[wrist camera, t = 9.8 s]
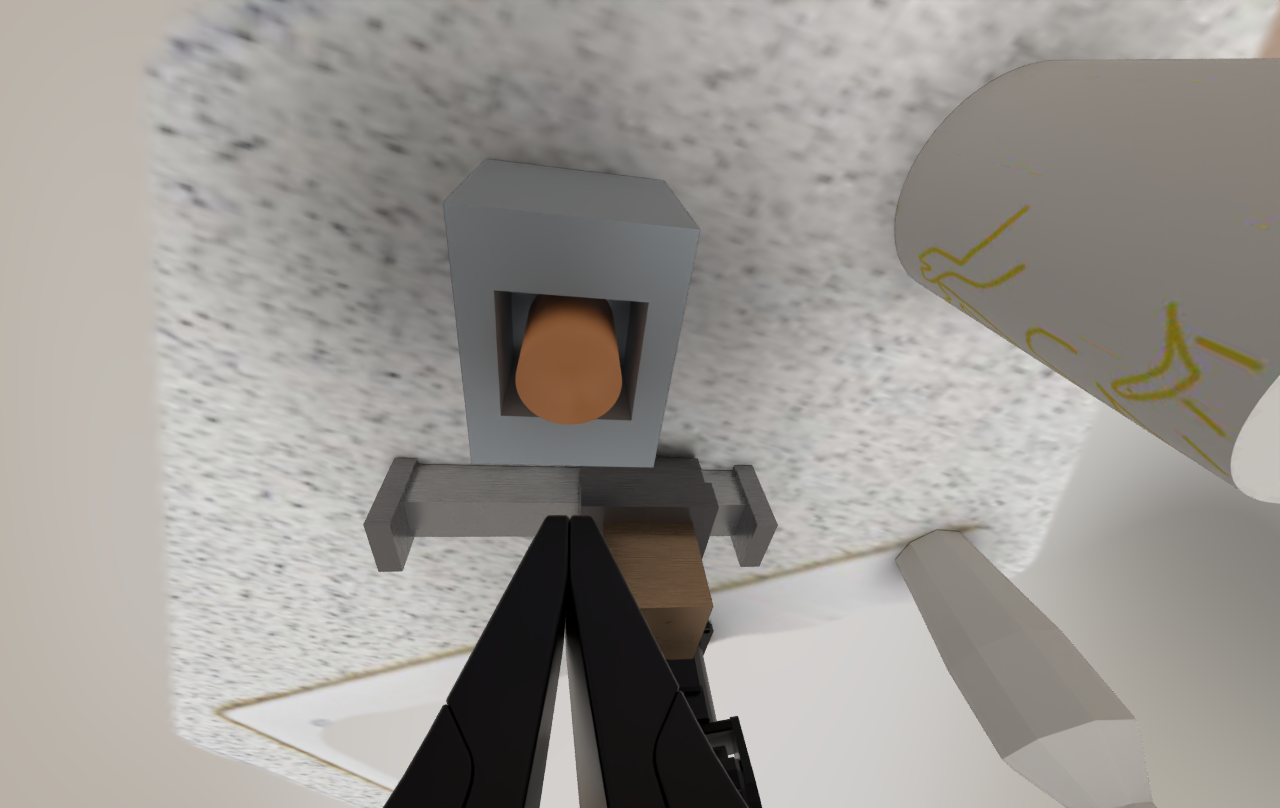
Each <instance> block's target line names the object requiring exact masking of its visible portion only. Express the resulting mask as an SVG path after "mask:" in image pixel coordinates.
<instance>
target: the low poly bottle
mask: <svg viewBox="0 0 1280 808" xmlns="http://www.w3.org/2000/svg"><path fill="white" fill-rule="evenodd" d="M895 560H896V563H897V565H898V567H899V569H900V571H901V573H902V575H903V577H904V579H905V581H906V584H907V586H908V588H909V590H910V592H911V594H912V596H913V598H914V600H915V602H916V605H917V606H918V609H919V611H920V613H921V615H922V617H923V619H924V621H925V623H926V625H927V628H928V630H929V632H930V634H931V636H932V638H933V640H934V642H935V644H936V646H937V649H938V651H939V653H940V655H941V657H942V659H943V661H944V663H945V665H946V667H947V669H948V671H949V673H950V675H951V676H952V678H953V680H954V681H955V683H956V685H957V686H958V688H959V690H960V691H961V693H962V694H963V696H964V698H965V699H966V701H967V702H968V704H969V706H970V708H971V709H972V711H973V712H974V714H975V716H976V718H977V719H978V721H979V722H980V724H981V726H982V727H983V729H984V731H985V732H986V734H987V736H988V737H989V739H990V740H991V742H992V744H993V746H994V747H995V749H996V750H997V752H998V754H999V755H1000V757H1001V759H1002V760H1003V761H1004V762H1005V763H1006V764H1007V765H1008V766H1009V767H1010V768H1012V769H1013V770H1014V771H1015V772H1017V773H1019V774H1020V775H1021V776H1023V777H1024V778H1025V779H1027V780H1028V781H1030V782H1031V783H1032V784H1034V785H1035V786H1037V787H1038V788H1040V789H1041V790H1042V791H1044V792H1045V793H1046V794H1048V795H1049V796H1051V797H1052V798H1053V799H1055V800H1056V801H1058V802H1059V803H1061V804H1062V805H1063V806H1065V807H1066V808H1157V807H1156V806H1155V805H1154V804H1153V802H1152V796H1151V790H1150V785H1149V779H1148V773H1147V768H1146V762H1145V757H1144V751H1143V746H1142V740H1141V735H1140V730H1139V726H1138V723H1137V719H1136V718H1135V717H1134V716H1133V715H1132V713H1131V712H1130V711H1129V710H1128V709H1127V707H1126V706H1125V705H1124V704H1123V703H1122V702H1121V700H1120V699H1119V698H1118V697H1117V696H1116V695H1115V693H1114V692H1113V691H1112V690H1111V689H1110V687H1109V686H1108V685H1107V684H1106V683H1105V682H1104V680H1103V679H1102V678H1101V677H1100V676H1099V675H1098V673H1097V672H1096V671H1095V670H1094V669H1093V668H1092V666H1091V665H1090V664H1089V663H1088V662H1087V661H1086V659H1085V658H1084V657H1083V656H1082V655H1081V654H1080V652H1079V651H1078V650H1077V649H1076V648H1075V646H1074V645H1073V644H1072V643H1071V642H1070V640H1069V639H1068V638H1067V637H1066V636H1065V635H1064V633H1062V631H1061V630H1060V629H1059V628H1058V627H1057V626H1056V625H1055V624H1054V623H1053V622H1052V621H1051V620H1050V619H1049V618H1048V617H1047V616H1046V615H1044V613H1042V612H1041V611H1040V610H1039V609H1038V608H1037V607H1036V606H1035V605H1034V604H1033V603H1032V602H1031V601H1030V600H1029V599H1028V598H1027V597H1026V596H1025V595H1024V594H1023V593H1022V592H1021V591H1020V590H1019V589H1018V588H1017V587H1016V586H1015V585H1014V584H1013V583H1012V582H1011V581H1010V580H1009V579H1008V578H1007V577H1005V576H1004V575H1003V574H1002V573H1001V572H1000V571H999V570H998V569H997V568H996V567H995V566H994V565H993V564H992V563H991V562H990V561H989V560H988V559H987V558H986V557H985V556H984V555H983V554H982V553H981V552H980V551H979V550H978V549H977V548H976V547H975V546H974V545H973V544H972V543H971V542H970V541H968V540H967V539H966V538H965V537H964V536H963V535H962V534H961V533H960V532H956V531H944V530H935V531H933V532H931V533H929V534H927V535H925V536H923V537H921V538H919V539H917V540H915V541H913V542H910V543H909V544H908V546H907V547H906V548H905V549H904V550H903V551H902V552H901V554H900V555H899V556H898V557H897V558H896V559H895Z"/></svg>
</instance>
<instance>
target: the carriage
mask: <svg viewBox="0 0 1280 808" xmlns="http://www.w3.org/2000/svg"><path fill="white" fill-rule="evenodd" d="M718 509H719V505H718V502H717V499H716V496H715V493H714V490H713V486H712V483H705V481H704V478H703V474H702V471H701V468H700V464H699V461H698V459H693V458H655V462H654V467H607V466H579V514H578V515H590V516H592V517H593V518H594V520H595V521H596V523H597V525H598V527H599V529H600V531H601V533H602V535H603V537H604V539H605V541H606V543H607V545H608V547H609V549H610V551H611V553H612V555H613V557H614V559H615V561H616V563H617V565H618V567H619V569H620V571H621V573H622V575H623V577H624V579H625V581H626V583H627V585H628V587H629V588H630V590H631V592H632V594H633V596H634V598H635V600H636V602H637V604H638V606H639V608H640V610H641V612H642V614H643V616H644V618H645V620H646V622H647V624H648V626H649V628H650V630H651V632H652V634H653V636H654V638H655V640H656V642H657V644H658V646H659V648H660V650H661V652H662V654H663V655H664V657H665V659H666V660H676V659H693V657H694V655H695V652H696V649H697V647H698V644H699V642H700V639H701V637H702V634H703V631H704V629H705V626H706V624H707V621H708V619H709V616H710V613H711V611H712V608H713V603H712V599H711V595H710V591H709V587H708V583H707V579H706V575H705V571H704V567H703V563H702V558H703V555H704V552H705V549H706V546H707V543H708V540H709V537H710V534H711V531H712V527H713V524H714V521H715V518H716V515H717V512H718Z"/></svg>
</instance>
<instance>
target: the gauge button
mask: <svg viewBox="0 0 1280 808" xmlns="http://www.w3.org/2000/svg"><path fill="white" fill-rule="evenodd" d="M515 381H516V388H517V392H518V394H519V396H520V398H521V400H522V402H523V403H524V404H525V405H526V407H527V408H528V409H529V410H530V411H532V412H533V413H534V414H536V415H537V416H539V417H541V418H542V419H545V420H547V421H550V422H553V423H558V424H566V425H575V424H582V423H586V422H589V421H592V420H595V419H597V418H599V417H600V416H602V415H604V414H605V413H606V412H607V411H609V410H610V409H611V407H612V406H613V405H614V404H615V402H616V401H617V399H618V397H619V395H620V392H621V387H622V376H621V368H620V361H619V353H618V346H617V338H616V331H615V324H614V316H613V312H612V309H611V307H610V305H609V303H608V302H607V300H606V299H597V298H585V297H572V296H559V295H546V294H538V295H537V296H536V298H535V299H534V300H533V302H532V304H531V306H530V309H529V313H528V318H527V323H526V327H525V332H524V337H523V342H522V347H521V352H520V357H519V362H518V366H517V371H516V380H515Z"/></svg>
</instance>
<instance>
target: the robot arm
mask: <svg viewBox="0 0 1280 808" xmlns="http://www.w3.org/2000/svg"><path fill="white" fill-rule="evenodd" d="M565 618H566V620H565ZM564 633H565V640H566V655H567V667H568V678H569V689H570V700H571V712H572V724H573V735H574V746H575V757H576V770H577V781H578V793H579V804H580V808H762V805H761V801H760V797H759V793H758V789H757V785H756V781H755V777H754V774H753V770H752V766H751V763H750V759H749V756H748V752H747V748H746V744H745V740H744V737H743V733H742V729H741V726H740V722H739V718H738V716H734V717H730V719H727V720H722V721H717V720H716V715H715V711H714V706H713V701H712V696H711V691H710V687H709V682H708V677H707V672H706V667H705V663H704V658H703V655H704V653H705V650H706V648H707V645H708V643H709V641H710V638H711V636H712V633H713V627H712V624H711V623H707V624H706V626H705V629H704V631H703V634H702V637H701V639H700V642H699V644H698V647H697V649H696V652H695V655H694V657H693V659H676V660H666V659H665V657H664V655H663V654H662V652H661V650H660V648H659V646H658V644H657V642H656V640H655V638H654V636H653V634H652V632H651V630H650V628H649V626H648V624H647V622H646V620H645V618H644V616H643V614H642V612H641V610H640V608H639V606H638V604H637V602H636V600H635V598H634V596H633V594H632V592H631V590H630V588H629V587H628V585H627V583H626V581H625V579H624V577H623V575H622V573H621V571H620V569H619V567H618V565H617V563H616V561H615V559H614V557H613V555H612V553H611V551H610V549H609V547H608V545H607V543H606V541H605V539H604V537H603V535H602V533H601V531H600V529H599V527H598V525H597V523H596V521H595V520H594V518H593V517H592V516H590V515H573V516H571V517H570V520H569V517H568V516H567V515H548V516H547V517H546V518H545V519H544V521H543V522H542V524H541V526H540V528H539V530H538V532H537V533H536V535H535V537H534V539H533V541H532V543H531V544H530V546H529V548H528V550H527V552H526V554H525V556H524V557H523V559H522V561H521V563H520V565H519V567H518V568H517V570H516V572H515V574H514V576H513V578H512V580H511V581H510V583H509V585H508V587H507V589H506V591H505V592H504V594H503V596H502V598H501V600H500V602H499V603H498V605H497V607H496V609H495V611H494V613H493V615H492V616H491V618H490V620H489V622H488V624H487V626H486V627H485V629H484V631H483V633H482V635H481V637H480V638H479V640H478V642H477V644H476V646H475V648H474V650H473V651H472V653H471V655H470V657H469V659H468V661H467V662H466V664H465V666H464V668H463V670H462V672H461V674H460V675H459V677H458V679H457V681H456V683H455V685H454V686H453V688H452V690H451V692H450V694H449V696H448V697H447V700H446V702H447V705H443V706H442V708H441V710H440V712H439V713H438V715H437V717H436V719H435V721H434V723H433V725H432V726H431V728H430V730H429V732H428V734H427V736H426V737H425V739H424V741H423V742H422V744H421V746H420V748H419V749H418V751H417V753H416V755H415V756H414V758H413V760H412V762H411V763H410V765H409V767H408V768H407V770H406V772H405V774H404V775H403V777H402V779H401V780H400V782H399V783H398V785H397V786H396V788H395V790H394V791H393V793H392V794H391V796H390V797H389V799H388V800H387V802H386V804H385V805H384V807H383V808H539V807H540V800H541V794H542V786H543V780H544V773H545V767H546V760H547V752H548V746H549V740H550V733H551V726H552V719H553V713H554V705H555V699H556V692H557V686H558V679H559V672H560V665H561V659H562V652H563V643H564ZM731 754H734V755H735V758H734V757H731V758H728V755H731Z"/></svg>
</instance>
